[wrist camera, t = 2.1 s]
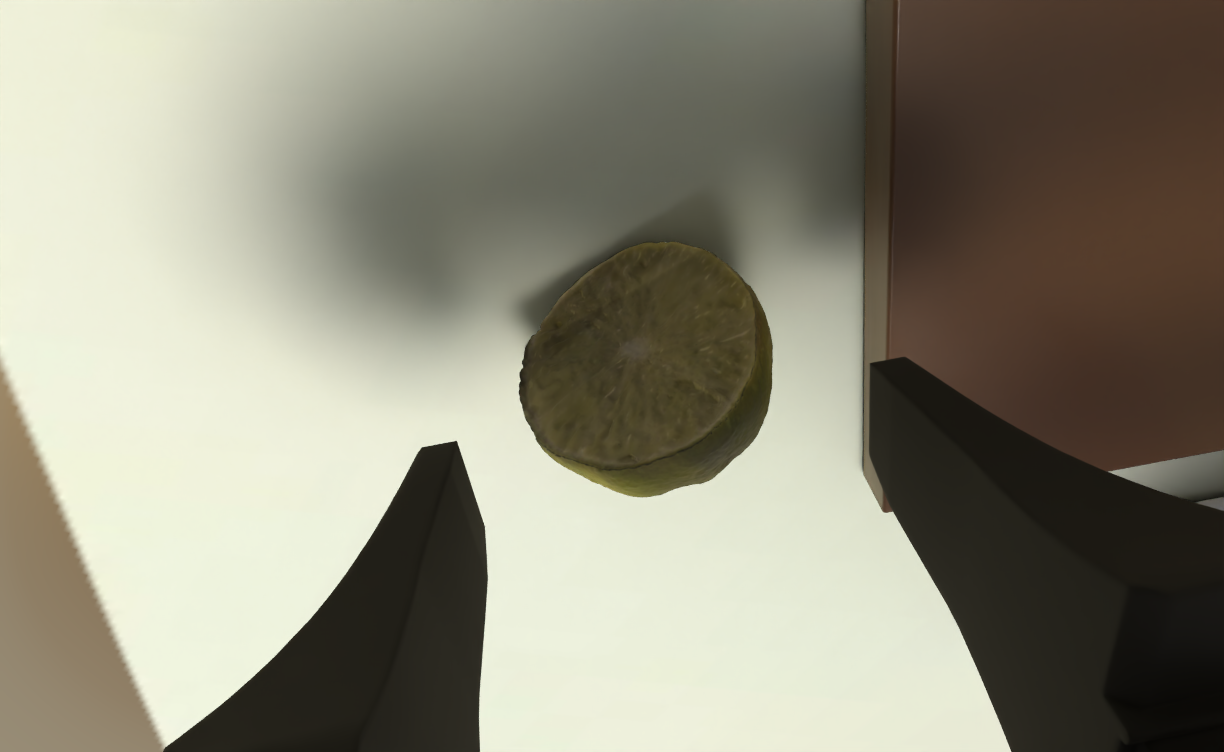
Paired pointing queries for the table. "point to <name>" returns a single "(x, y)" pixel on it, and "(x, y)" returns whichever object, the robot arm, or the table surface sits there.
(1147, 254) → the cutting board
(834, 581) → the table surface
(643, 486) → the lime
